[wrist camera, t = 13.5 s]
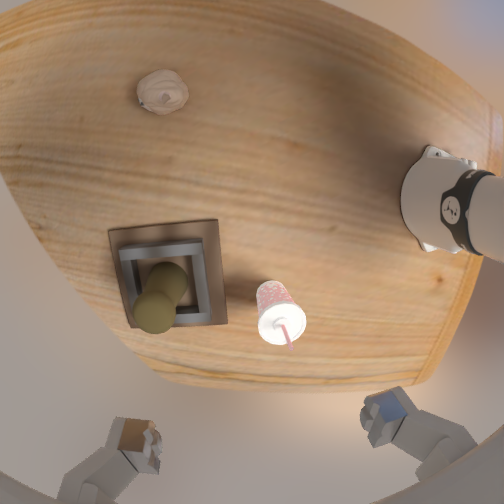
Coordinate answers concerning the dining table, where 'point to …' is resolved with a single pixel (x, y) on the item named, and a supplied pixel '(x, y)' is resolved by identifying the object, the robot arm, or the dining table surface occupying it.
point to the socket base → (181, 253)
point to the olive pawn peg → (160, 298)
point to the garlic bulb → (162, 92)
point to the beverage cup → (278, 314)
